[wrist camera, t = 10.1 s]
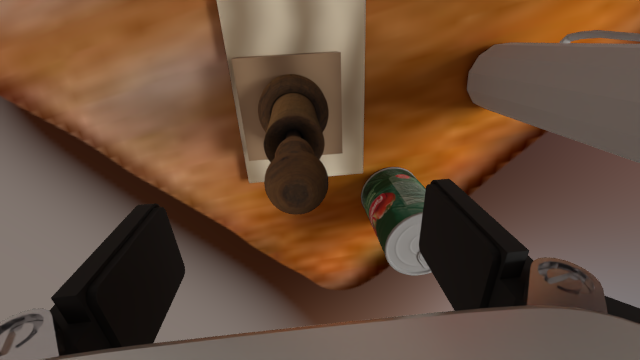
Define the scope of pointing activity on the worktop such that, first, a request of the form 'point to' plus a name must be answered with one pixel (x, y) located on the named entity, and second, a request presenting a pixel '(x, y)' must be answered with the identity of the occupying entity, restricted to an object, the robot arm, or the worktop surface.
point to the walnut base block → (264, 69)
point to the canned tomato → (397, 217)
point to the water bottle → (566, 88)
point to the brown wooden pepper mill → (294, 142)
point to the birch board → (304, 37)
